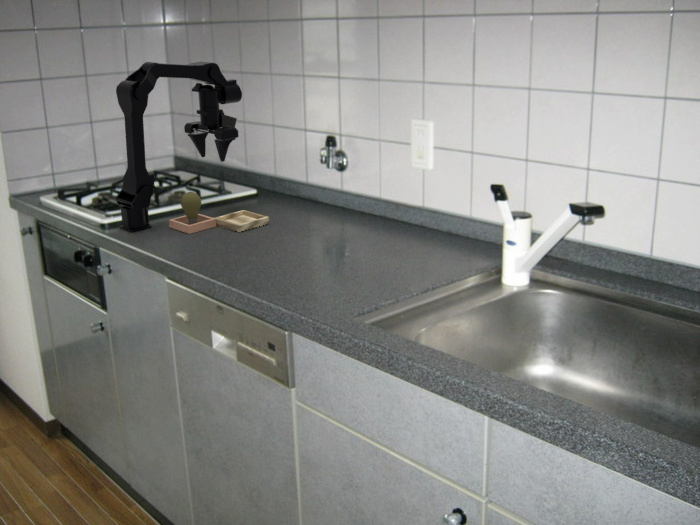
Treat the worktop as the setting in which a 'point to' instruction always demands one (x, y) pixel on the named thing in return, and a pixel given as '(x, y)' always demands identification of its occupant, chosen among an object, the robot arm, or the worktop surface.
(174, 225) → the shallow square box
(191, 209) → the light bulb
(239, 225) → the tray
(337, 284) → the worktop surface
